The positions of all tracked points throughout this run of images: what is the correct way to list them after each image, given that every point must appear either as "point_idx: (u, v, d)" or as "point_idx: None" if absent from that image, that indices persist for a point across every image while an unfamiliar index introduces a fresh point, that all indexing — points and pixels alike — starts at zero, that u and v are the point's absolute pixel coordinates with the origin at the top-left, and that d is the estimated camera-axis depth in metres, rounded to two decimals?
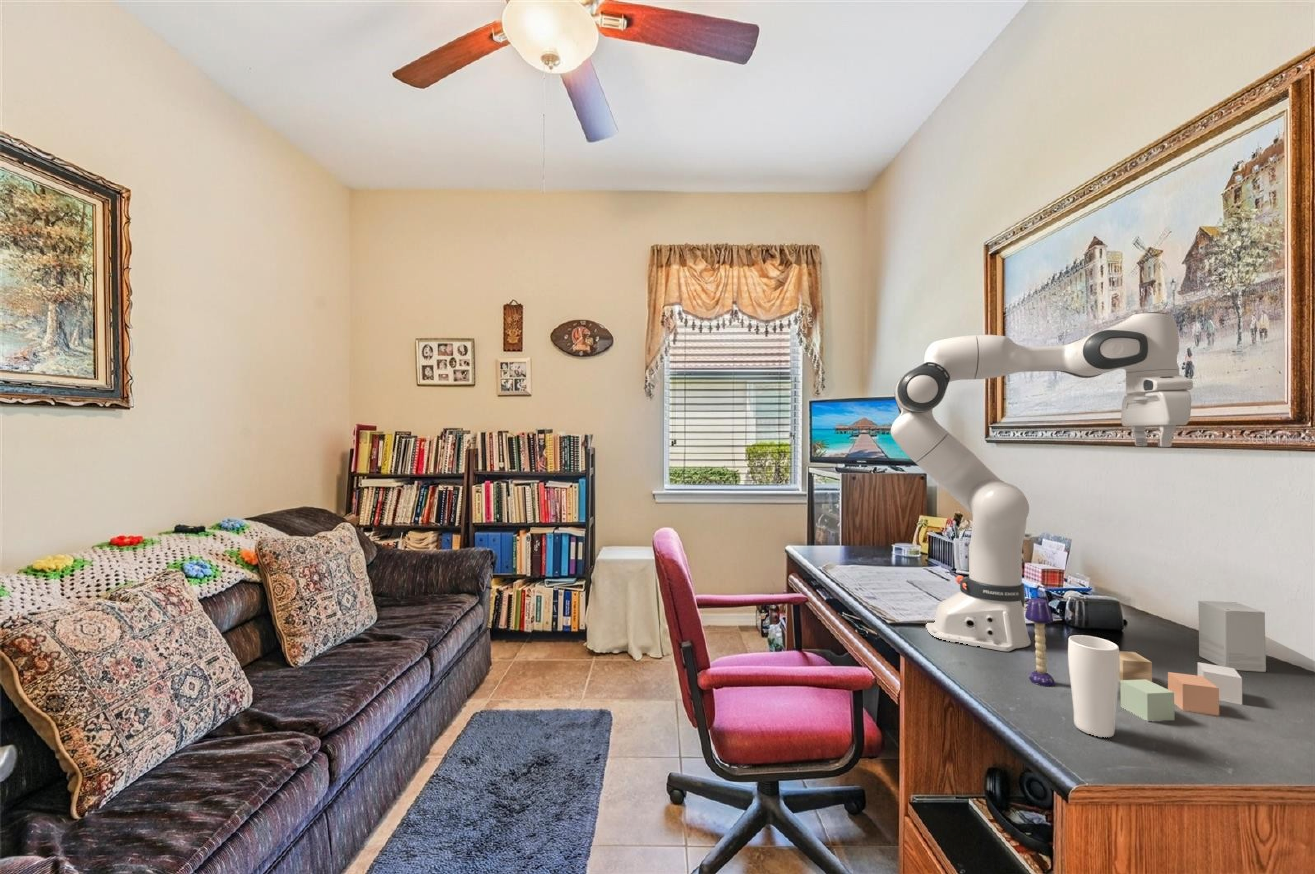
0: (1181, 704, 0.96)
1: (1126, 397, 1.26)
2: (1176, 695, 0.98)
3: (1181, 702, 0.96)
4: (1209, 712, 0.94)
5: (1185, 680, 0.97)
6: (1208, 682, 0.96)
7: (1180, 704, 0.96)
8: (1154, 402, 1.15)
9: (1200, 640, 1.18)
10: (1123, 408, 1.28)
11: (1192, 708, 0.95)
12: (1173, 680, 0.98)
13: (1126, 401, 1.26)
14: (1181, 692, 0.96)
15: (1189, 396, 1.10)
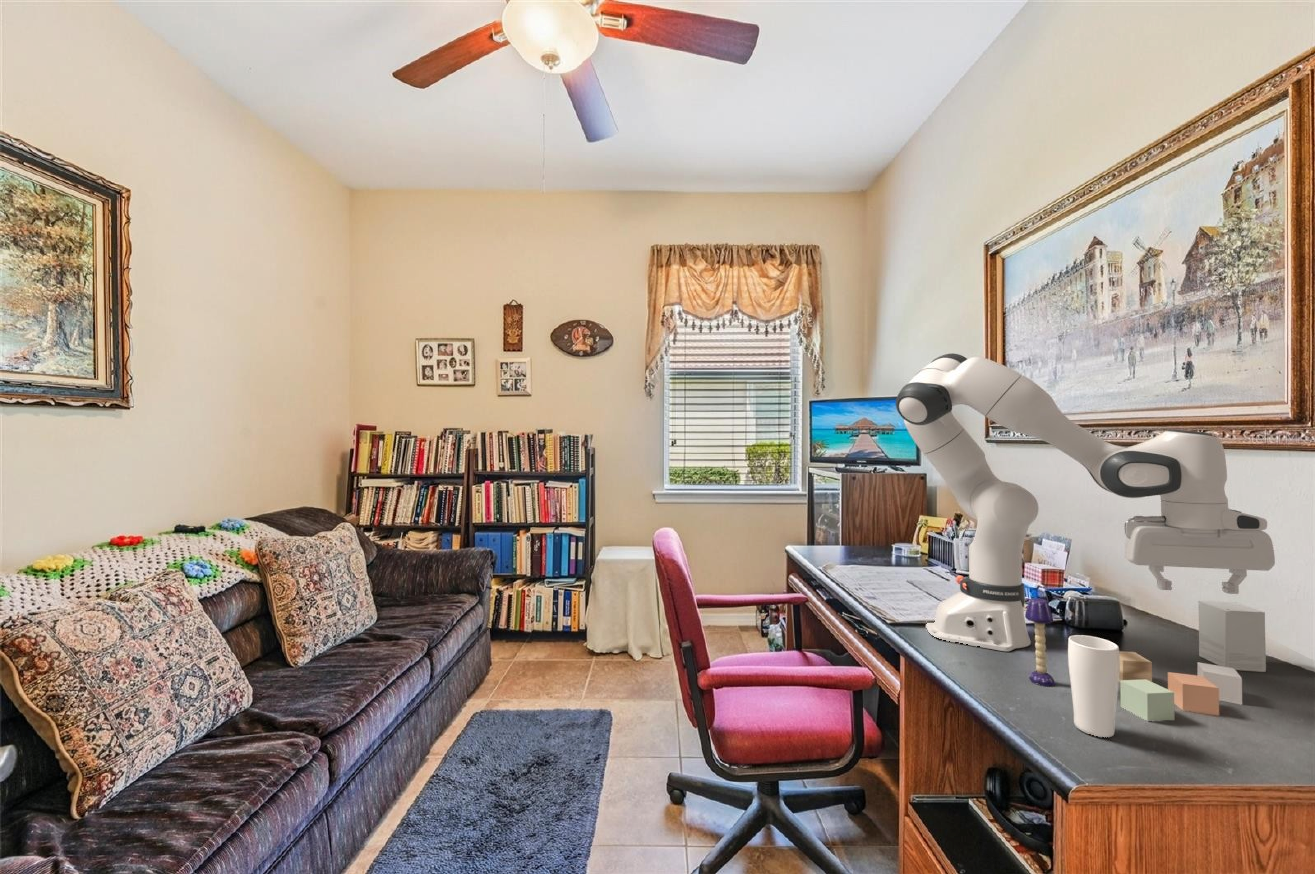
0: (1181, 704, 0.96)
1: (1151, 529, 0.99)
2: (1176, 695, 0.98)
3: (1181, 702, 0.96)
4: (1209, 712, 0.94)
5: (1185, 680, 0.97)
6: (1208, 682, 0.96)
7: (1180, 704, 0.96)
8: (1231, 541, 0.95)
9: (1200, 640, 1.18)
10: (1143, 542, 1.00)
11: (1192, 708, 0.95)
12: (1173, 680, 0.98)
13: (1152, 534, 0.99)
14: (1181, 692, 0.96)
15: None
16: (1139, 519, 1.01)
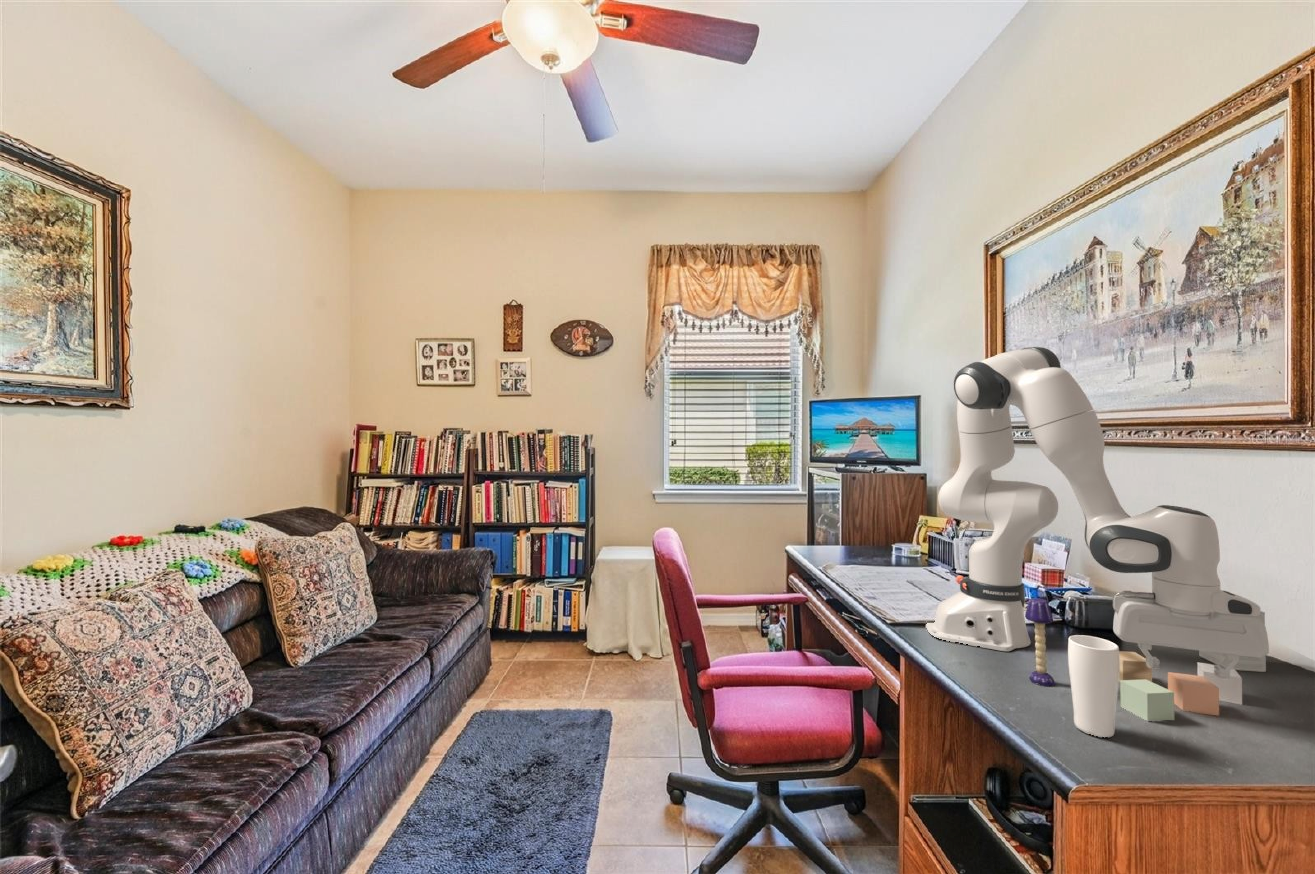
0: (1181, 704, 0.96)
1: (1138, 606, 0.98)
2: (1176, 695, 0.98)
3: (1181, 702, 0.96)
4: (1209, 712, 0.94)
5: (1185, 680, 0.97)
6: (1208, 682, 0.96)
7: (1180, 704, 0.96)
8: (1222, 624, 0.93)
9: None
10: (1130, 619, 0.98)
11: (1192, 708, 0.95)
12: (1173, 680, 0.98)
13: (1139, 611, 0.97)
14: (1181, 692, 0.96)
15: None
16: (1127, 594, 0.99)
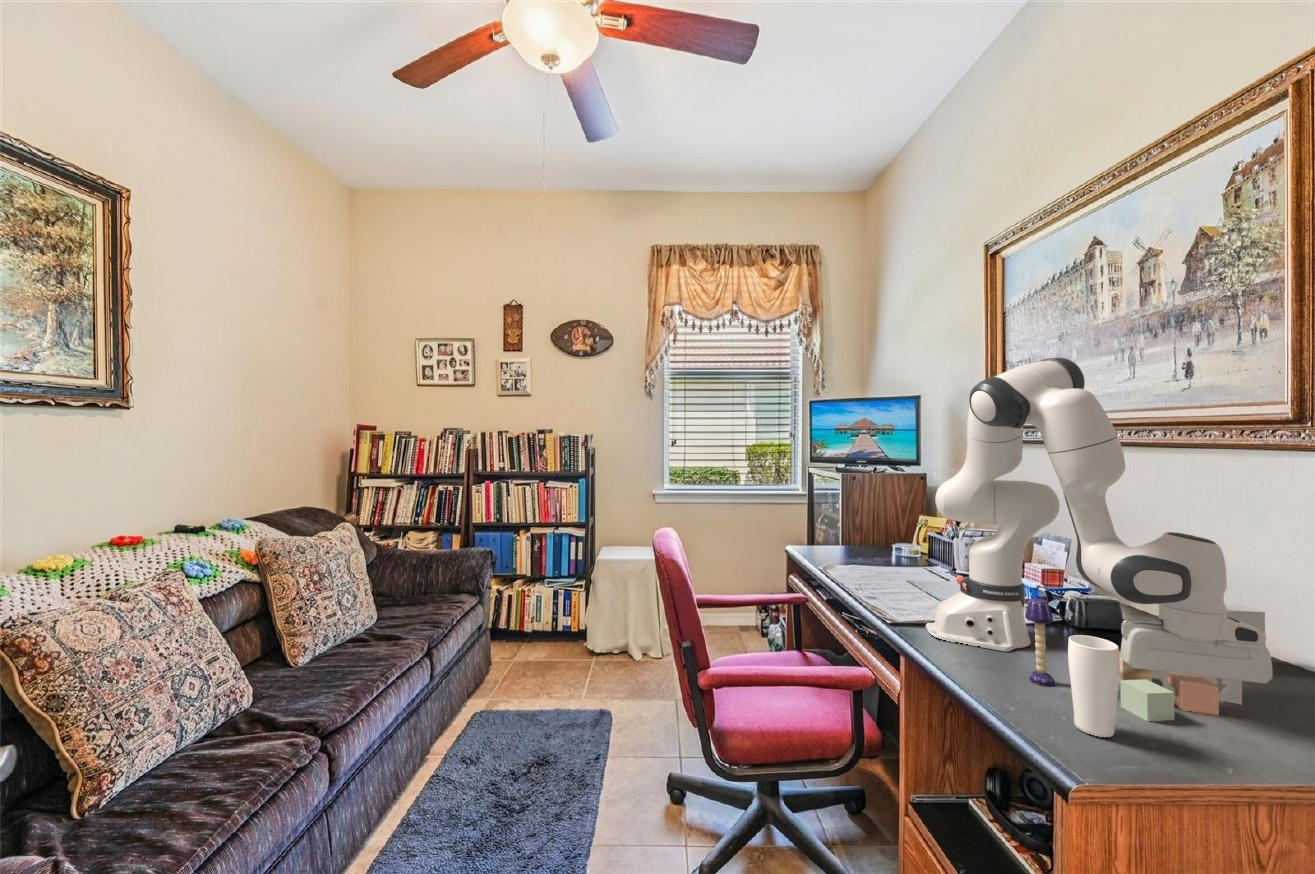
0: (1181, 704, 0.96)
1: (1147, 633, 0.98)
2: None
3: (1181, 701, 0.96)
4: (1209, 711, 0.94)
5: (1185, 679, 0.97)
6: (1208, 681, 0.96)
7: (1180, 703, 0.96)
8: (1228, 651, 0.94)
9: None
10: (1139, 646, 0.98)
11: (1192, 707, 0.95)
12: (1173, 680, 0.98)
13: (1148, 638, 0.98)
14: (1181, 691, 0.96)
15: None
16: (1136, 621, 1.00)
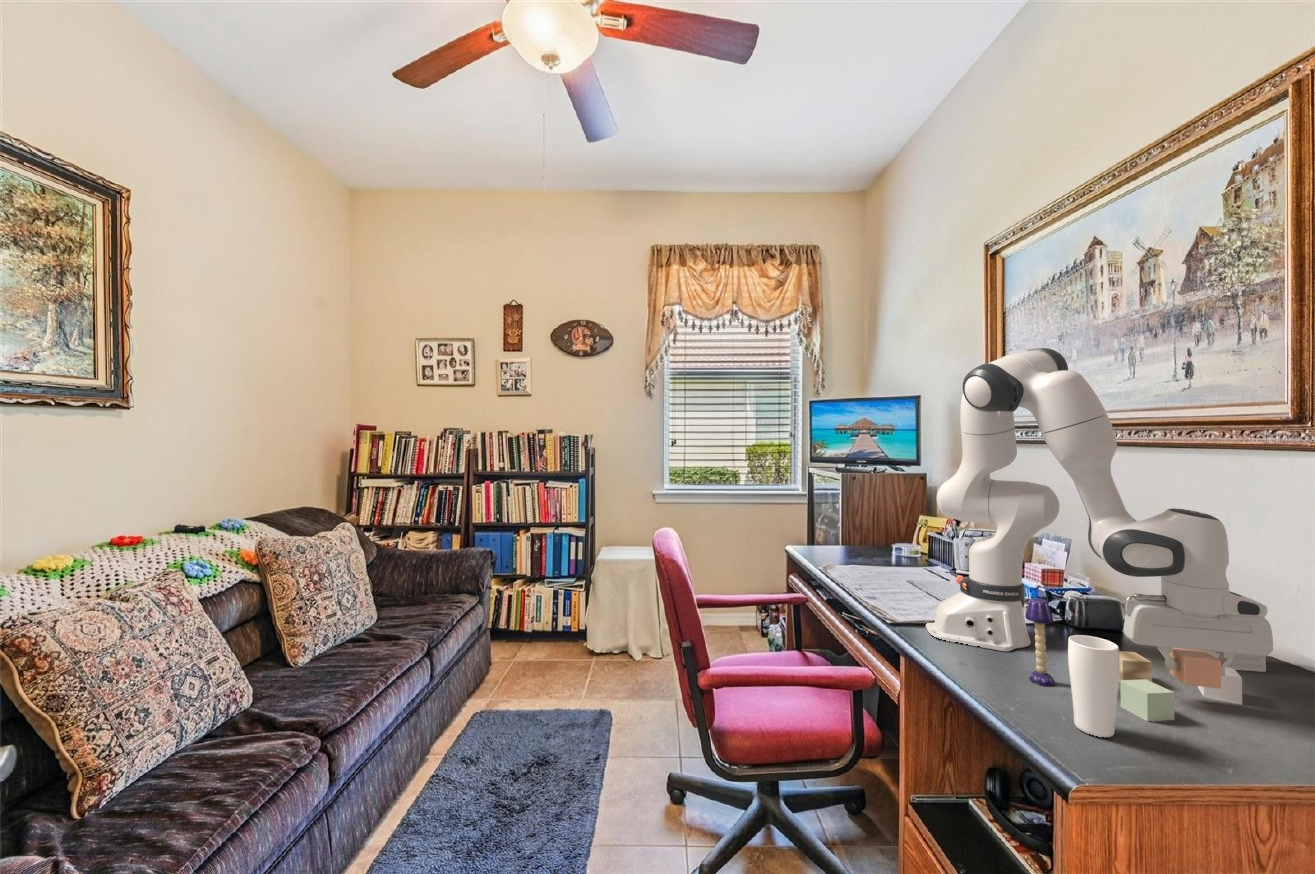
0: (1184, 678, 0.97)
1: (1151, 609, 0.98)
2: None
3: (1184, 675, 0.97)
4: (1211, 685, 0.95)
5: (1187, 654, 0.98)
6: (1209, 655, 0.97)
7: (1183, 678, 0.97)
8: (1230, 625, 0.95)
9: None
10: (1143, 622, 0.99)
11: (1195, 681, 0.96)
12: (1175, 655, 0.99)
13: (1152, 614, 0.98)
14: (1184, 666, 0.97)
15: None
16: (1139, 598, 1.00)
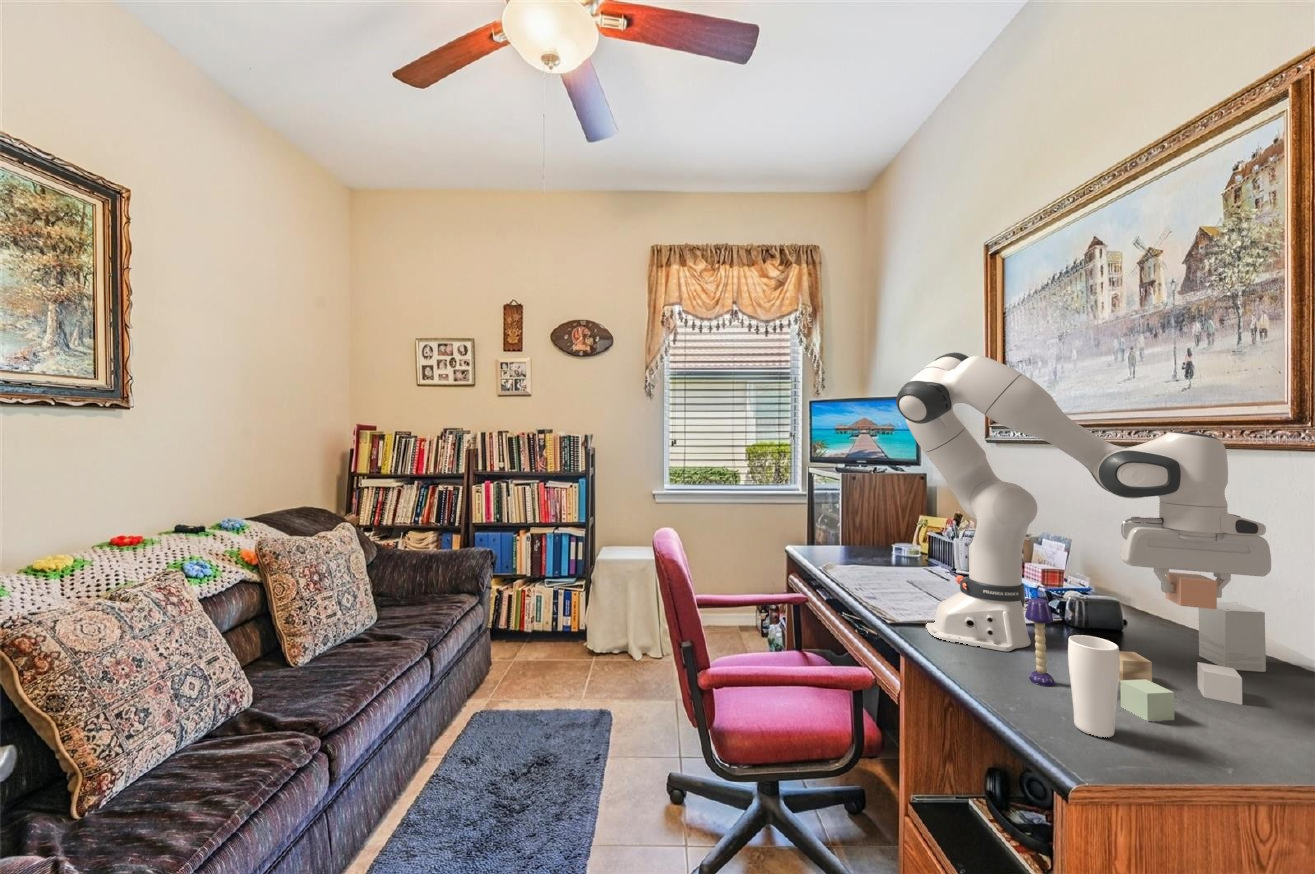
0: (1179, 599, 0.96)
1: (1148, 530, 0.98)
2: None
3: (1179, 597, 0.96)
4: (1207, 606, 0.95)
5: (1183, 576, 0.97)
6: (1206, 578, 0.96)
7: (1178, 600, 0.97)
8: (1228, 545, 0.94)
9: (1200, 640, 1.18)
10: (1139, 543, 0.99)
11: (1190, 602, 0.96)
12: (1172, 578, 0.99)
13: (1149, 535, 0.98)
14: (1179, 587, 0.96)
15: None
16: (1137, 520, 1.00)
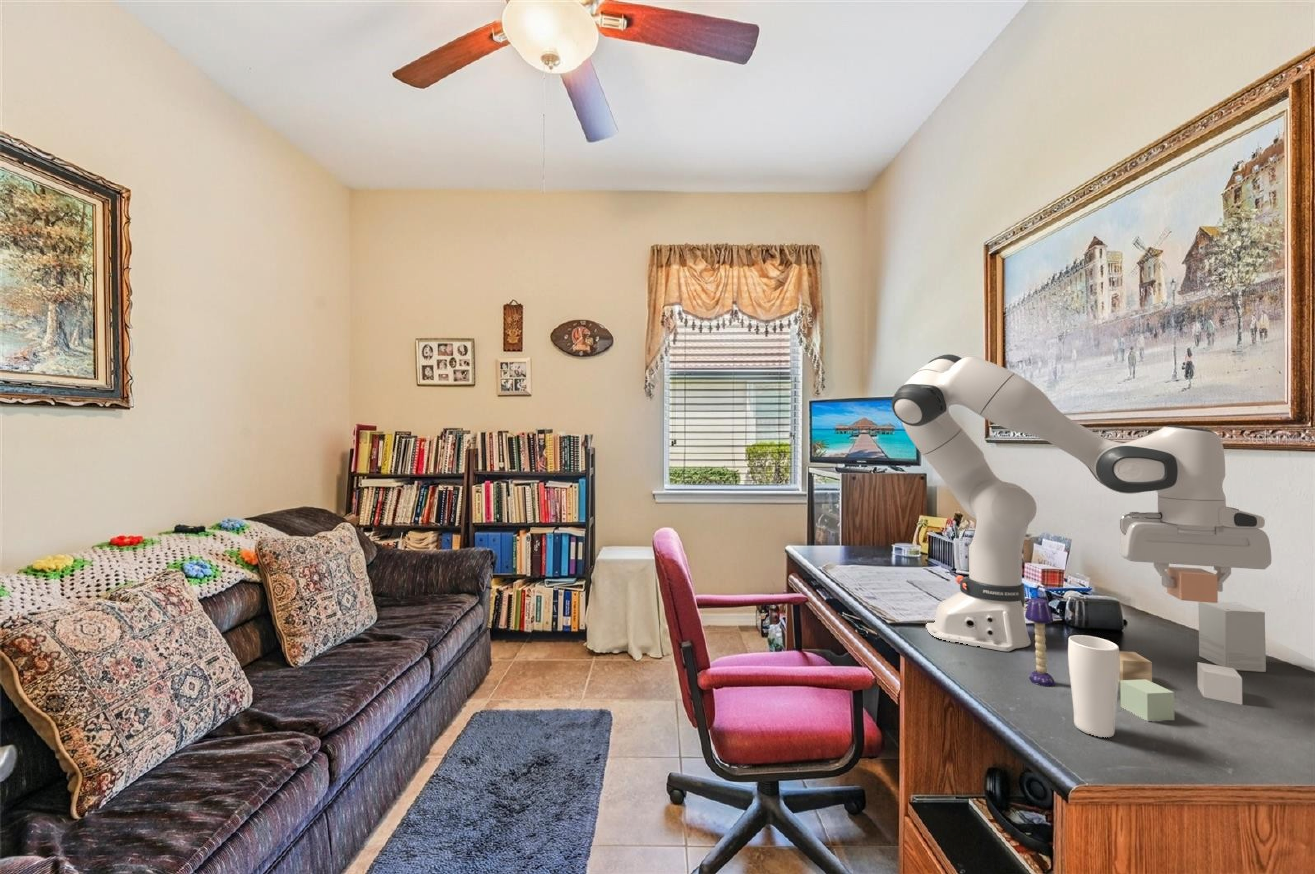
0: (1180, 594, 0.96)
1: (1146, 525, 0.98)
2: None
3: (1180, 591, 0.96)
4: (1208, 599, 0.94)
5: (1183, 570, 0.97)
6: (1206, 571, 0.96)
7: (1179, 594, 0.96)
8: (1227, 539, 0.94)
9: (1200, 640, 1.18)
10: (1138, 539, 0.98)
11: (1191, 597, 0.95)
12: (1172, 572, 0.98)
13: (1147, 530, 0.98)
14: (1180, 582, 0.96)
15: None
16: (1135, 515, 1.00)
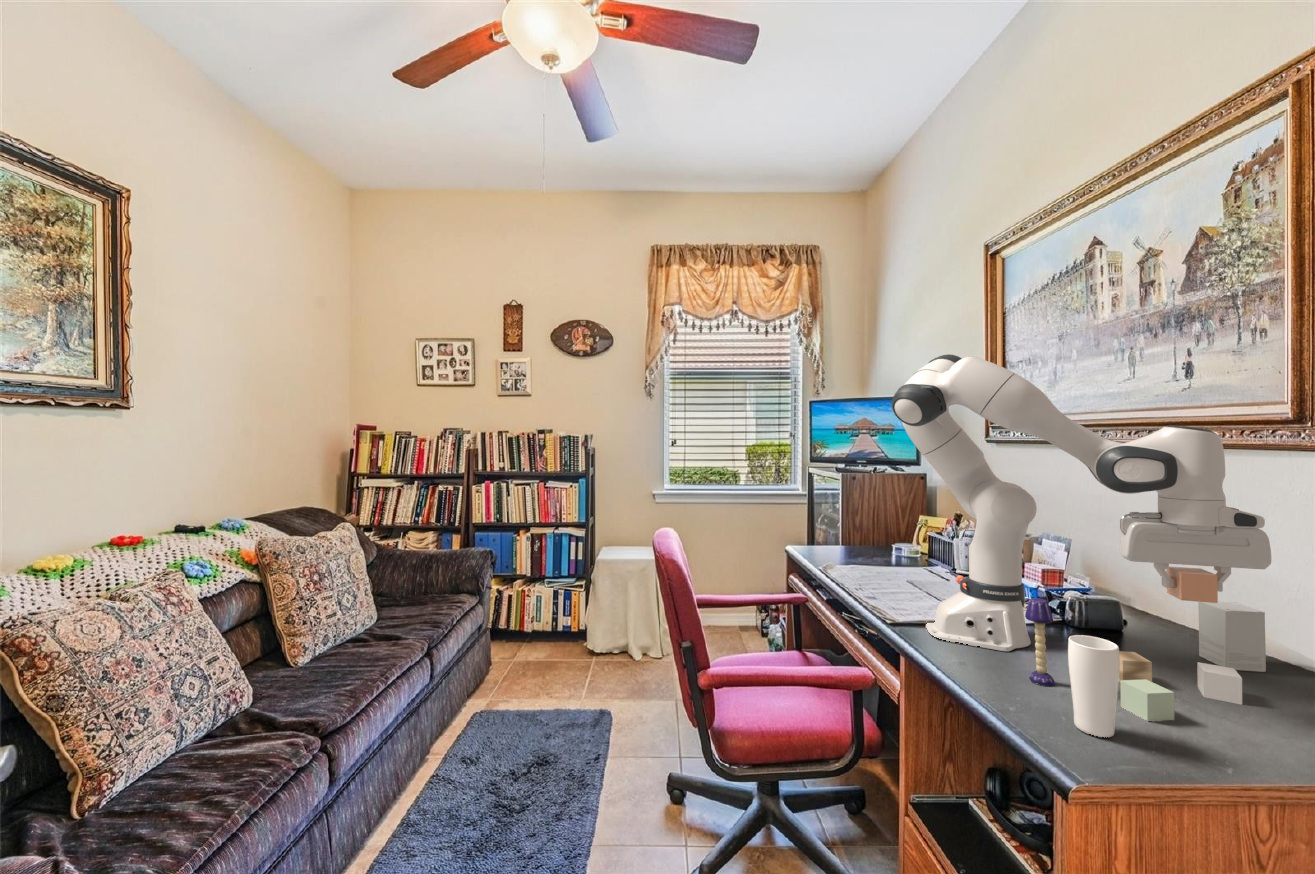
0: (1180, 594, 0.96)
1: (1146, 525, 0.98)
2: None
3: (1180, 591, 0.96)
4: (1208, 599, 0.94)
5: (1183, 570, 0.97)
6: (1206, 571, 0.96)
7: (1179, 594, 0.96)
8: (1227, 539, 0.94)
9: (1200, 640, 1.18)
10: (1138, 539, 0.98)
11: (1191, 597, 0.95)
12: (1172, 572, 0.98)
13: (1147, 530, 0.98)
14: (1180, 582, 0.96)
15: None
16: (1135, 515, 1.00)
